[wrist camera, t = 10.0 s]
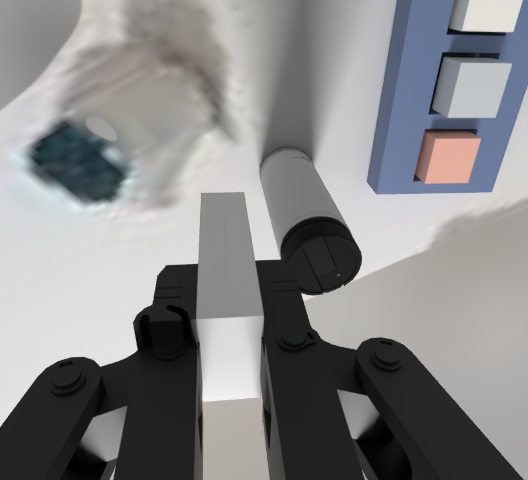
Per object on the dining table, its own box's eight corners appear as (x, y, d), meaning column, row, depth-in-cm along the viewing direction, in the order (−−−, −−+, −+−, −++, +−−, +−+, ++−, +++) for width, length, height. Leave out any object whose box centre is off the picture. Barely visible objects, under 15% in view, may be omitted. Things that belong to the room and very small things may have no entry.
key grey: (443, 56, 42) (461, 62, 39) (491, 57, 42) (512, 63, 40) (431, 108, 45) (447, 117, 42) (476, 108, 45) (495, 117, 42)
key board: (407, -61, 39) (423, -64, 36) (548, -54, 41) (575, -57, 38) (366, 181, 51) (376, 194, 48) (475, 180, 53) (491, 192, 50)
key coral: (421, 128, 47) (435, 138, 44) (464, 128, 47) (481, 138, 44) (411, 171, 49) (424, 183, 46) (452, 170, 50) (467, 182, 47)
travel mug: (300, 134, 48) (351, 220, 31) (319, 184, 51) (374, 285, 34) (249, 157, 48) (271, 253, 31) (271, 204, 52) (301, 314, 35)
